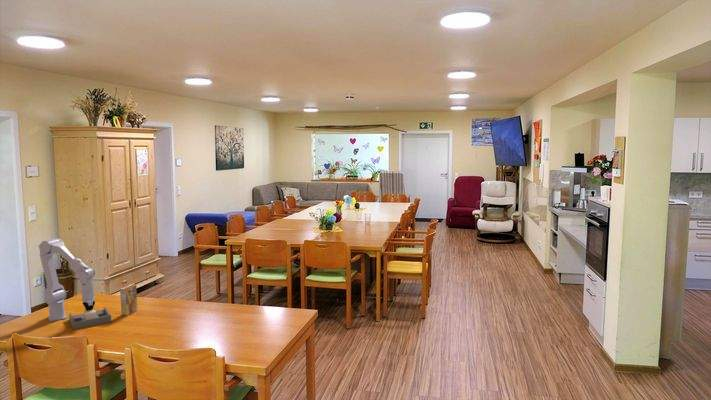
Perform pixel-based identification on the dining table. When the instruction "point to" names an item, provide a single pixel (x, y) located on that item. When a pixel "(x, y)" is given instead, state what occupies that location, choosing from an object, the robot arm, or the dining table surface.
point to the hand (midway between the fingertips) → (89, 314)
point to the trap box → (80, 321)
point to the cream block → (90, 314)
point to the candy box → (128, 299)
